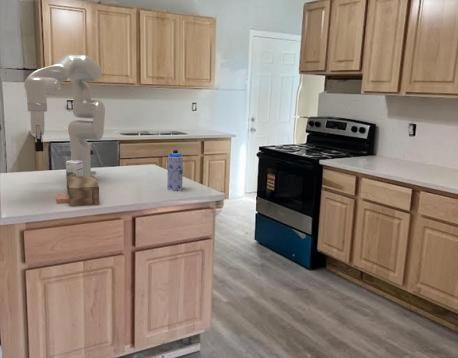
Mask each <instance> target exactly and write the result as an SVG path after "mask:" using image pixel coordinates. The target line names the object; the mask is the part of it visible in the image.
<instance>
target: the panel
mask: <svg viewBox="0 0 458 358" xmlns="http://www.w3.org/2000/svg"><path fill="white" fill-rule="evenodd" d="M55 197H56V204H59V205H60V204H70V203H69V193H68V192H65V193H64V192H63V193H56V195H55Z"/></svg>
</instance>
